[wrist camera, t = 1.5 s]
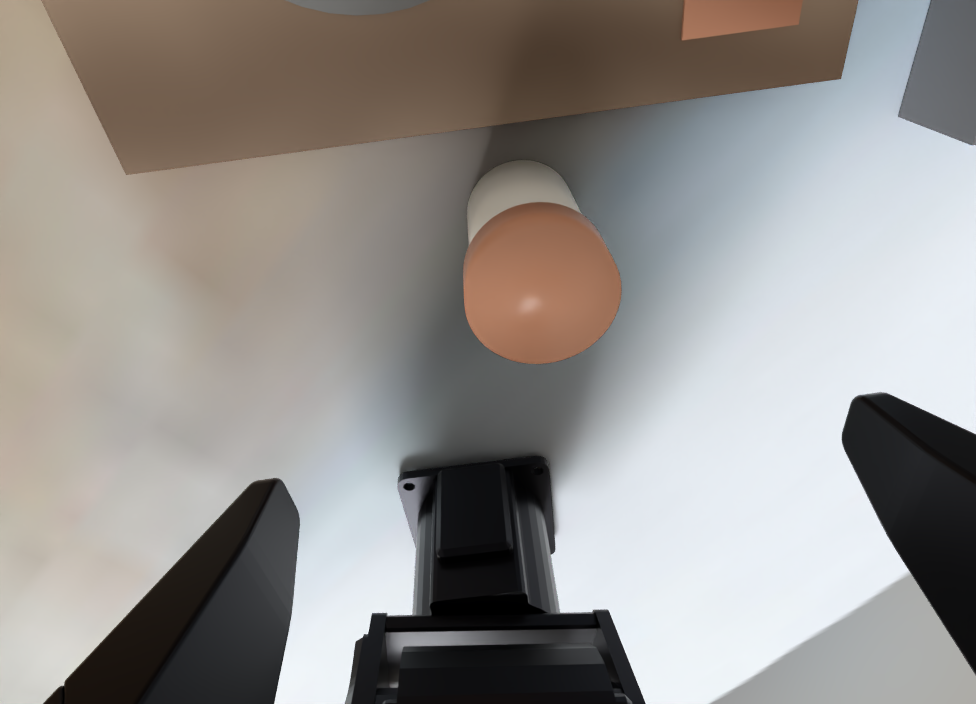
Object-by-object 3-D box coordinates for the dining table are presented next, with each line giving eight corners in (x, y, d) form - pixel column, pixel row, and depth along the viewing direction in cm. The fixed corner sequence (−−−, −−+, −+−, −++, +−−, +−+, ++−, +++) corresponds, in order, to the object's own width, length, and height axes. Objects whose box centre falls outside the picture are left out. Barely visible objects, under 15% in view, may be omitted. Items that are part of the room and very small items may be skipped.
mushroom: (580, 259, 19) (620, 354, 15) (469, 273, 20) (475, 372, 15) (577, 145, 17) (622, 216, 13) (452, 162, 17) (453, 238, 13)
